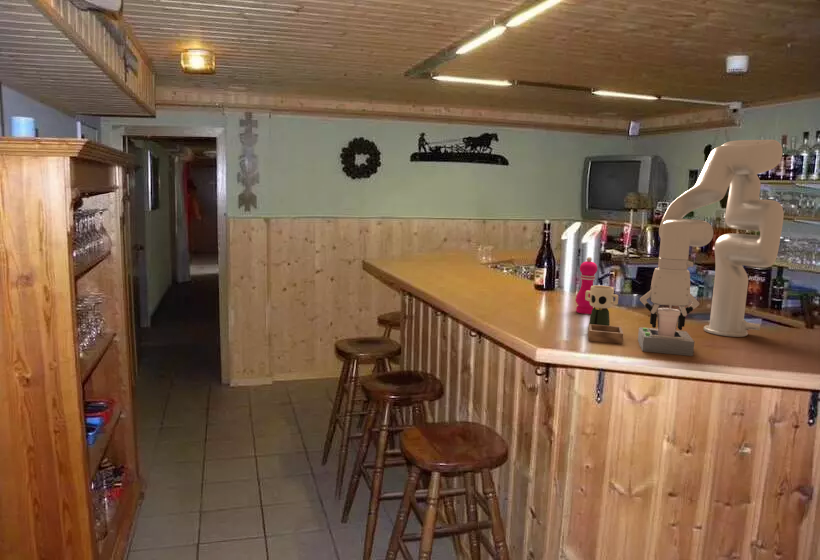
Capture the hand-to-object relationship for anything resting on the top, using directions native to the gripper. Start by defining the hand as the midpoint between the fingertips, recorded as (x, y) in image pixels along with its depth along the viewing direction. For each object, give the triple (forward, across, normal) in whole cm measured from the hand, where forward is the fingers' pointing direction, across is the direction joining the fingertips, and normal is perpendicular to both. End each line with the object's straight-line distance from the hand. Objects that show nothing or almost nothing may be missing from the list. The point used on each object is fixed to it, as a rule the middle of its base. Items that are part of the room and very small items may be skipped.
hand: (666, 327), depth 178 cm
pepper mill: (+6, +21, -44) cm, 49 cm away
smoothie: (+5, 0, 0) cm, 5 cm away
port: (+6, 0, 0) cm, 6 cm away
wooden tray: (+6, +16, -5) cm, 18 cm away
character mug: (+6, +17, -21) cm, 28 cm away
